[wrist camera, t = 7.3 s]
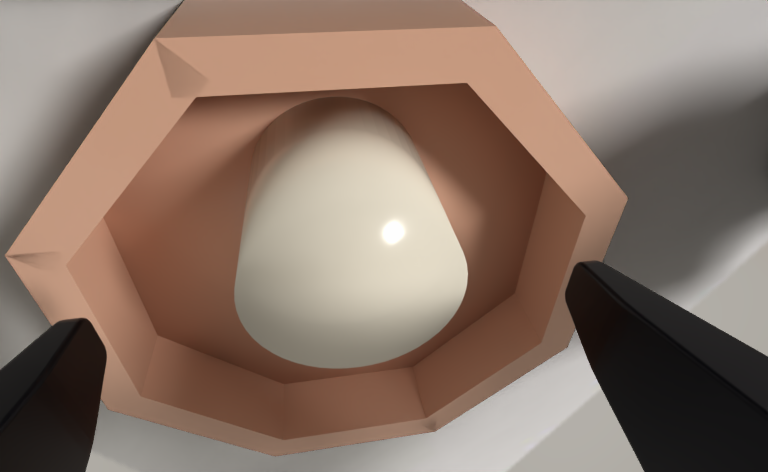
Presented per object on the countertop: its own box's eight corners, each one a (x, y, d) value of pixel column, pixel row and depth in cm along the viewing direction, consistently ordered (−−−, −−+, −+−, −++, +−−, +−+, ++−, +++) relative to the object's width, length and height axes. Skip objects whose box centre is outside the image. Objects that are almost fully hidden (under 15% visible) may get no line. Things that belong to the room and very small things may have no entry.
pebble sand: (423, 91, 11) (482, 190, 8) (414, 235, 14) (455, 354, 10) (234, 101, 10) (208, 213, 7) (265, 249, 13) (256, 380, 10)
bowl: (614, -13, 11) (701, 18, 9) (510, 351, 20) (539, 415, 17) (-28, 4, 9) (-134, 48, 7) (169, 397, 18) (152, 475, 16)
